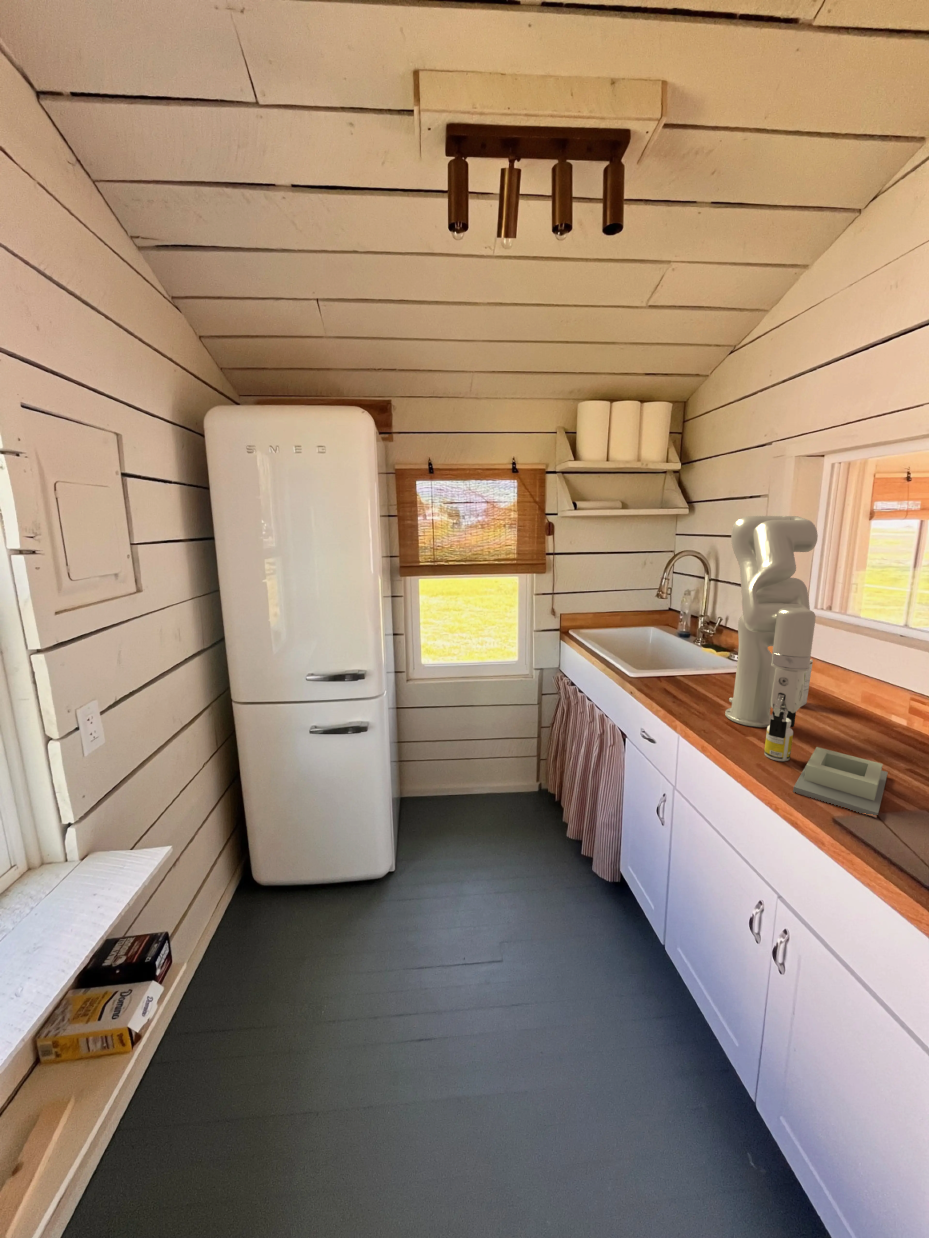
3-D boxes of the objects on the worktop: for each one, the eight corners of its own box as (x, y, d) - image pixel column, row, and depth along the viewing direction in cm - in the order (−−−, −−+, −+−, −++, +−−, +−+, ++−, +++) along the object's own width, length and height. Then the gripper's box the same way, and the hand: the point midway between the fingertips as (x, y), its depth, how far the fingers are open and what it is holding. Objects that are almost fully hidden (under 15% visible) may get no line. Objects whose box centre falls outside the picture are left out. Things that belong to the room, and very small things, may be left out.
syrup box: (778, 702, 159) (785, 658, 156) (787, 698, 162) (793, 655, 159) (799, 708, 154) (806, 662, 151) (807, 704, 158) (813, 659, 155)
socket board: (877, 818, 98) (881, 796, 97) (792, 791, 107) (795, 771, 106) (886, 776, 114) (890, 757, 113) (812, 756, 123) (815, 738, 122)
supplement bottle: (780, 751, 126) (785, 714, 124) (794, 762, 121) (800, 723, 119) (758, 751, 126) (763, 714, 124) (772, 762, 120) (778, 723, 118)
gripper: (801, 671, 109) (792, 746, 112) (816, 657, 122) (807, 725, 124) (762, 664, 114) (754, 736, 117) (780, 652, 127) (772, 717, 129)
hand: (781, 730), depth 121 cm, fingers open, 9 cm apart
